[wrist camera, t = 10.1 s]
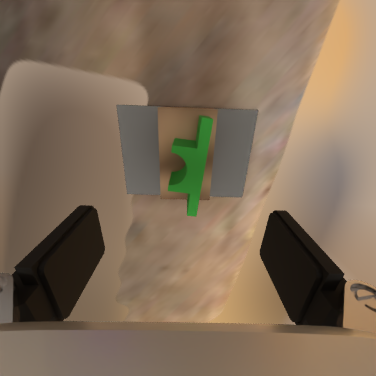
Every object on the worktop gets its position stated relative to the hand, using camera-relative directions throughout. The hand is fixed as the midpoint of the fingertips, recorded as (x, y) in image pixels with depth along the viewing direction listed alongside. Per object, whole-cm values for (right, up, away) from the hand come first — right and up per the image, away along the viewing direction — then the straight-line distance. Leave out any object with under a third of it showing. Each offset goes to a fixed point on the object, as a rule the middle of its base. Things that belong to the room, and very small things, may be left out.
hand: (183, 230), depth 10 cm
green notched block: (0, +6, +14) cm, 15 cm away
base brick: (0, +8, +18) cm, 20 cm away
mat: (0, +7, +19) cm, 20 cm away
